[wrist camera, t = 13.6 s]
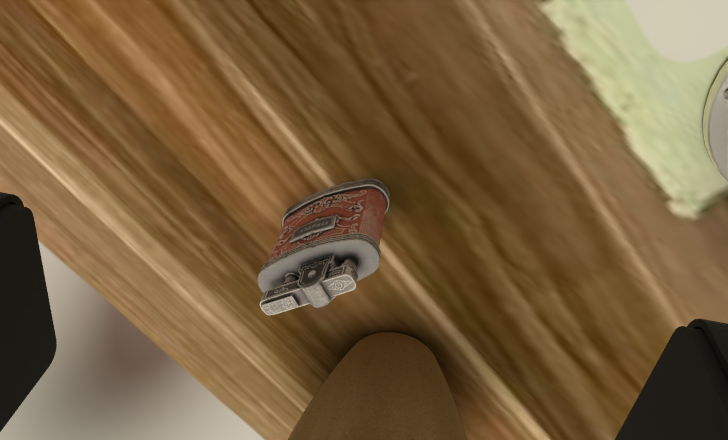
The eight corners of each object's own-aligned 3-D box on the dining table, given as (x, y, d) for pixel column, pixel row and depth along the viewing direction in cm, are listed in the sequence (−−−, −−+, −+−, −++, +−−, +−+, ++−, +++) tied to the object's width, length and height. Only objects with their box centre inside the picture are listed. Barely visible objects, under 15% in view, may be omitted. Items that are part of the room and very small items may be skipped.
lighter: (377, 169, 42) (358, 254, 34) (398, 209, 44) (385, 301, 35) (275, 207, 45) (234, 295, 36) (298, 243, 46) (264, 337, 38)
